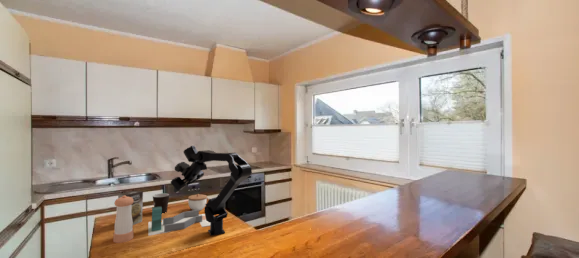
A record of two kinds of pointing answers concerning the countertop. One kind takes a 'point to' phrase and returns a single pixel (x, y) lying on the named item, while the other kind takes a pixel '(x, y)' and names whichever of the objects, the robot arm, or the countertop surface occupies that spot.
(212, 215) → the robot arm
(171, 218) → the channel
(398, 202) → the countertop surface
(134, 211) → the coffee box
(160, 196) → the coffee mug
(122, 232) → the pepper shaker
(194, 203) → the lidded jar
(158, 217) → the teal peg
